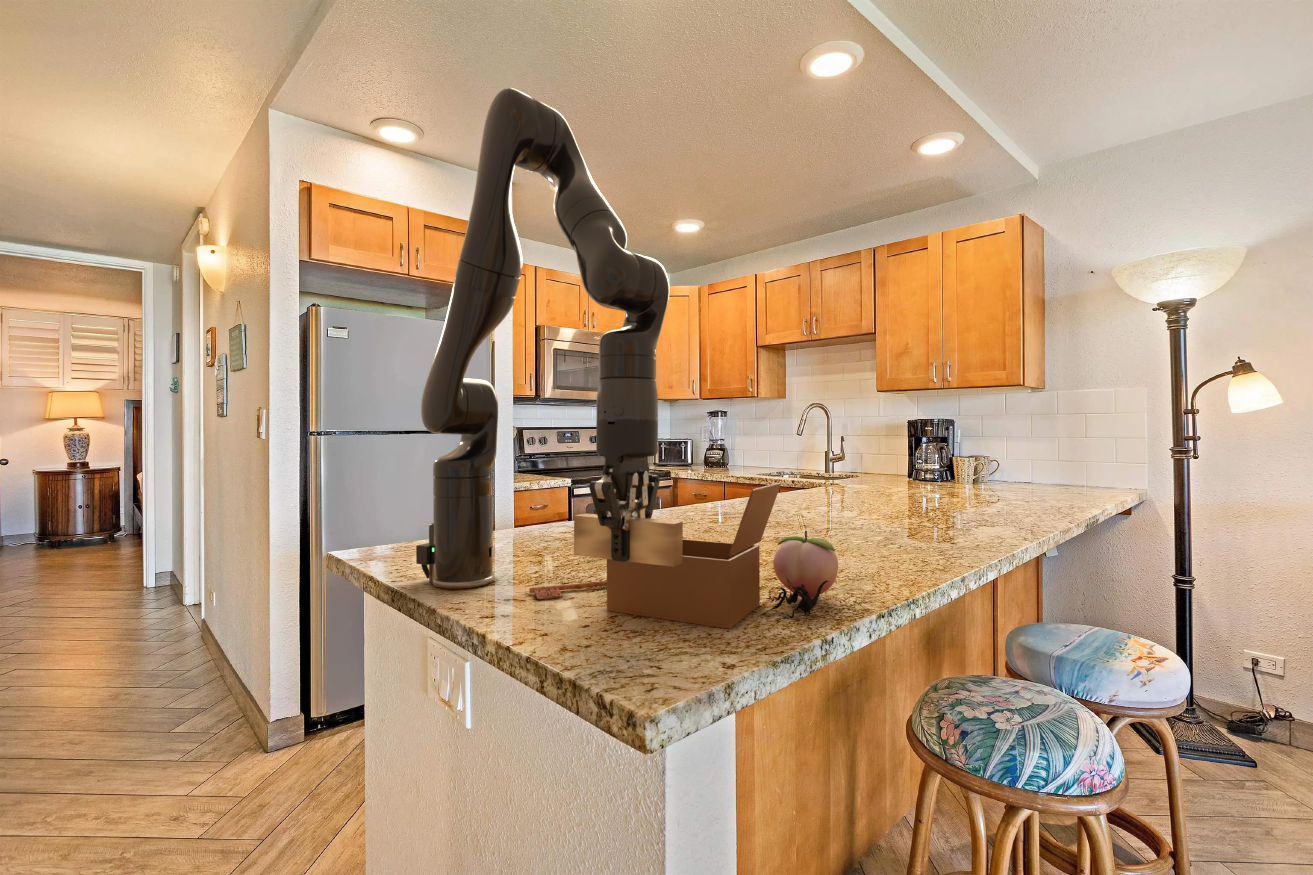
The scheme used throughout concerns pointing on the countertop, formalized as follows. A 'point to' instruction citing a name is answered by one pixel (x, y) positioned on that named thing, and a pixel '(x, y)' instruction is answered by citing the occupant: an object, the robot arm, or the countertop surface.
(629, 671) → the countertop surface
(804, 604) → the creature
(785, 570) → the decorative fruit
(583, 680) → the countertop surface
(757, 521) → the flap
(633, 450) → the robot arm
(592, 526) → the tan wooden block
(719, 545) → the carton
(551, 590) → the key
